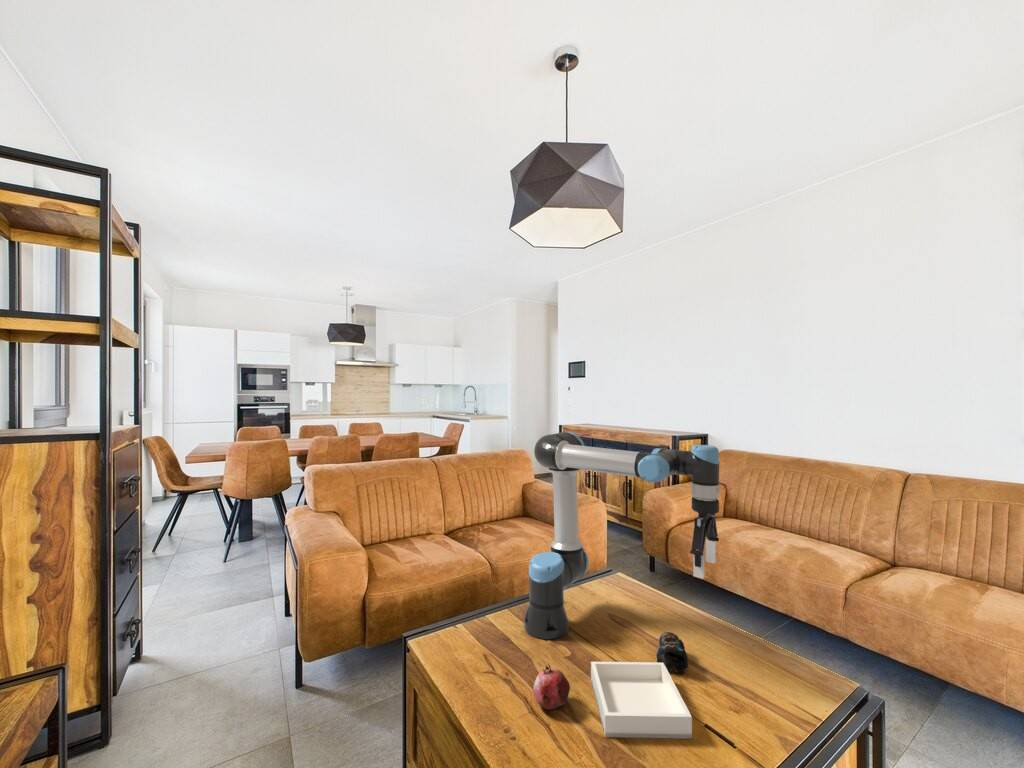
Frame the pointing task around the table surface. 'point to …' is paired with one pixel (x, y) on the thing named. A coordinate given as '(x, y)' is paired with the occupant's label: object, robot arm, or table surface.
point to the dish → (639, 701)
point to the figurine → (672, 653)
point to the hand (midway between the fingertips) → (704, 569)
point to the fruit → (551, 688)
